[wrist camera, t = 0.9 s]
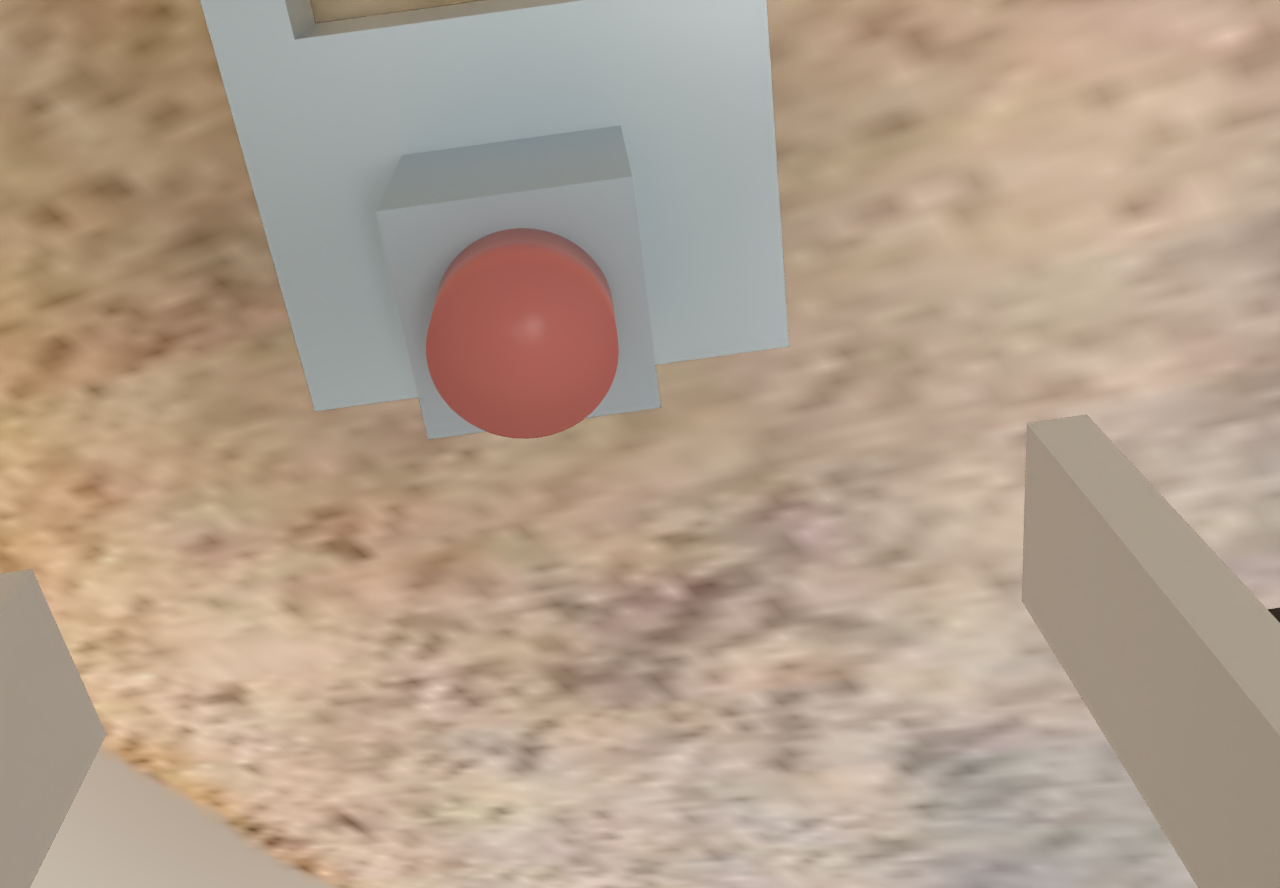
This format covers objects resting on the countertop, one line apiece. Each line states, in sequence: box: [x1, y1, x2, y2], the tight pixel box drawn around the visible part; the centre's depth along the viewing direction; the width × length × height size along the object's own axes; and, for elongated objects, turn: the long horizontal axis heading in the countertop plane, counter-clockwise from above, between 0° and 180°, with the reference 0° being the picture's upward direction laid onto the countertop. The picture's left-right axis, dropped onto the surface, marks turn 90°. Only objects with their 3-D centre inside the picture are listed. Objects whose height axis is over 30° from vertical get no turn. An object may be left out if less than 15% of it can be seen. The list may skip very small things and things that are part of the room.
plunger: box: [426, 228, 619, 438], centre depth 23 cm, size 4×4×2 cm
